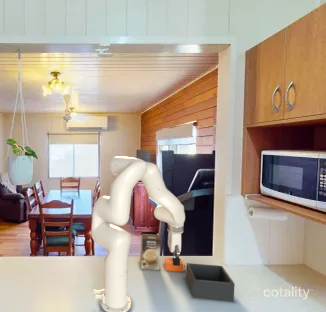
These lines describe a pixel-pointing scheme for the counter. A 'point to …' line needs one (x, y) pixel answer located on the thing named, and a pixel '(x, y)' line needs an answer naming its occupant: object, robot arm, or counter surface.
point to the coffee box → (150, 251)
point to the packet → (171, 267)
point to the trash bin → (209, 282)
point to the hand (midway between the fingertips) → (174, 260)
